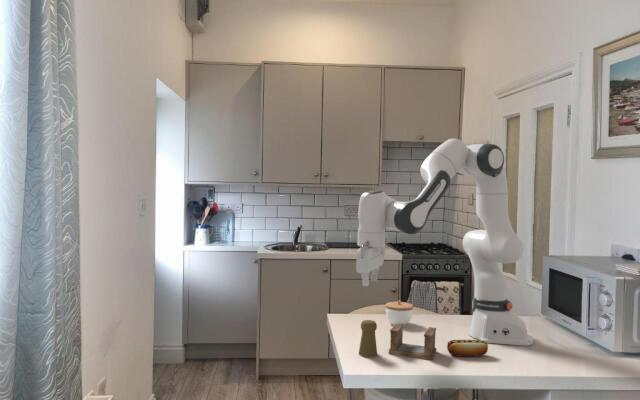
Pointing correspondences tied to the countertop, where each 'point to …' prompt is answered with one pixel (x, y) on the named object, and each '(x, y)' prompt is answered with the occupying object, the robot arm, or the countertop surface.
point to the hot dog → (467, 347)
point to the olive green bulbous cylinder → (368, 339)
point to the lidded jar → (399, 312)
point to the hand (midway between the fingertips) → (369, 283)
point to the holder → (409, 349)
